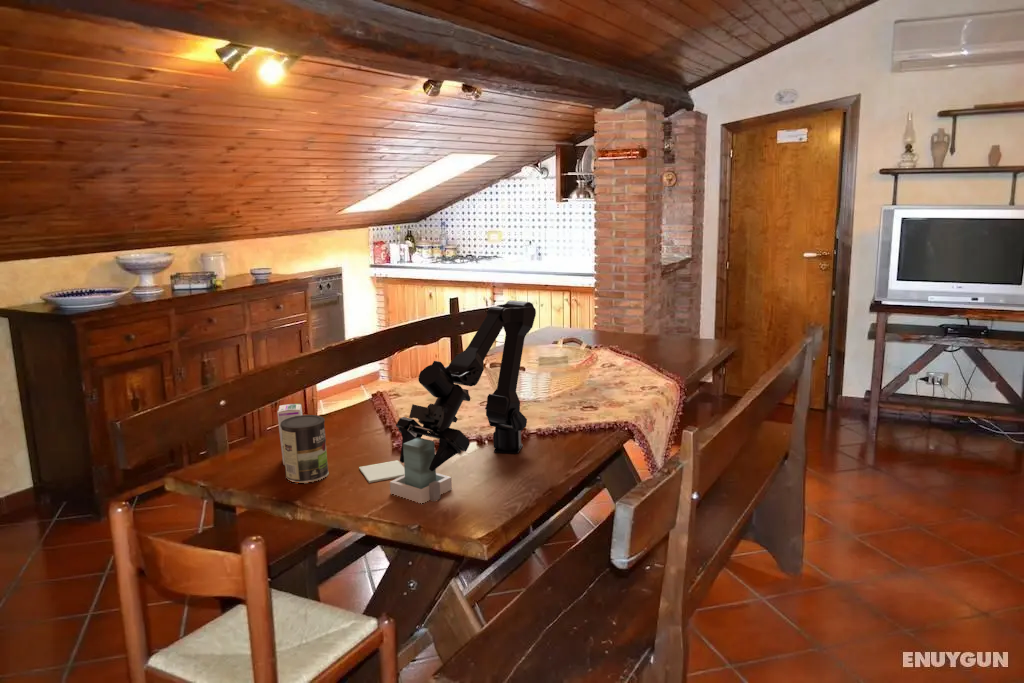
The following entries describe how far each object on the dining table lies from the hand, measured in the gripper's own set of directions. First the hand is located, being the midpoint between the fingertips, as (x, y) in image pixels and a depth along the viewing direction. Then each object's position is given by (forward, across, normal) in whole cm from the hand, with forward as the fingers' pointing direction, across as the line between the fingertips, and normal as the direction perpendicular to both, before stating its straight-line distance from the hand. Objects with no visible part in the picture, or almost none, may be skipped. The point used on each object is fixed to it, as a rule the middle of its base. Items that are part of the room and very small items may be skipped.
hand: (415, 466), depth 180 cm
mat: (+1, -16, +8) cm, 18 cm away
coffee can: (+10, -30, 0) cm, 32 cm away
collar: (+4, 0, +6) cm, 7 cm away
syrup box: (+7, -41, +3) cm, 42 cm away
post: (+4, 0, +6) cm, 7 cm away
